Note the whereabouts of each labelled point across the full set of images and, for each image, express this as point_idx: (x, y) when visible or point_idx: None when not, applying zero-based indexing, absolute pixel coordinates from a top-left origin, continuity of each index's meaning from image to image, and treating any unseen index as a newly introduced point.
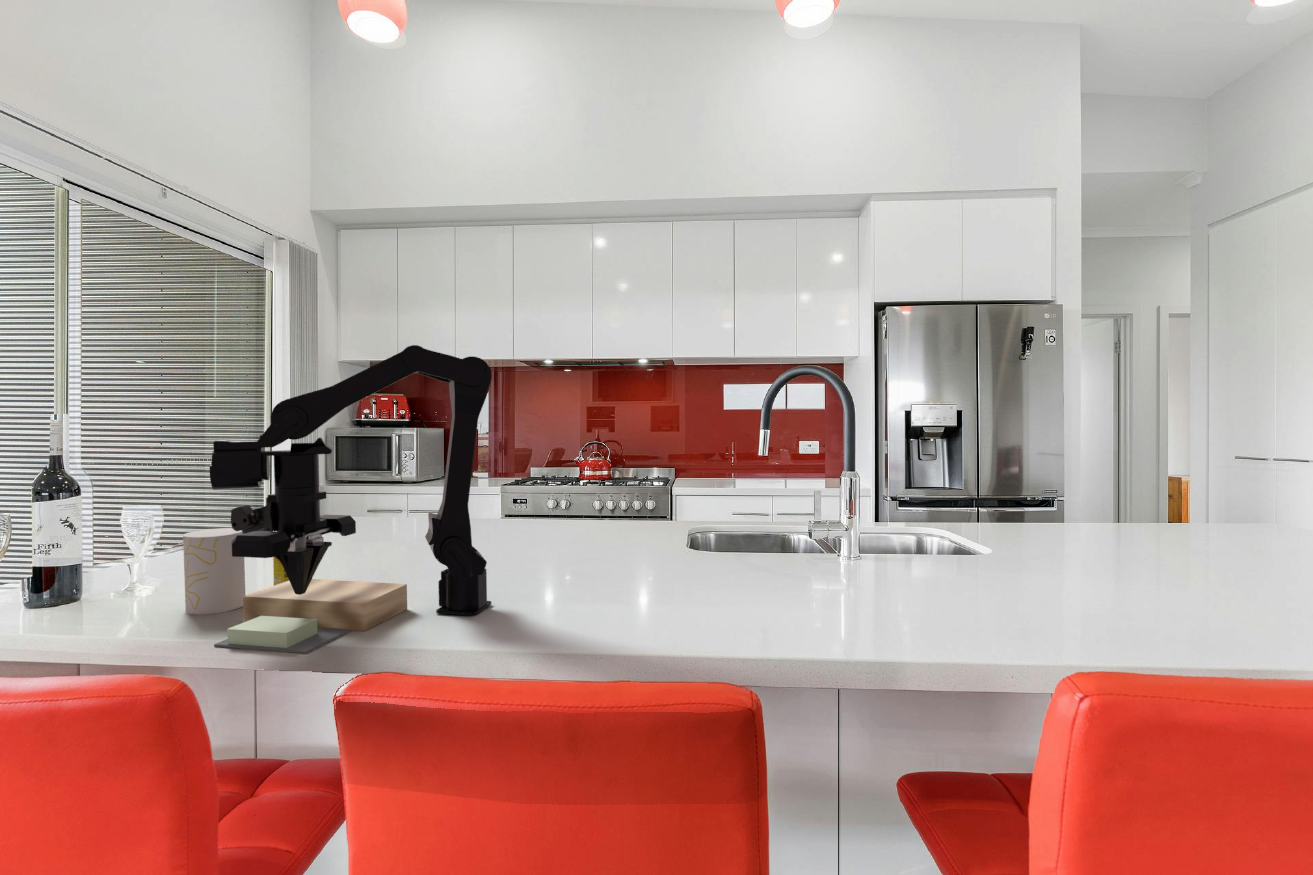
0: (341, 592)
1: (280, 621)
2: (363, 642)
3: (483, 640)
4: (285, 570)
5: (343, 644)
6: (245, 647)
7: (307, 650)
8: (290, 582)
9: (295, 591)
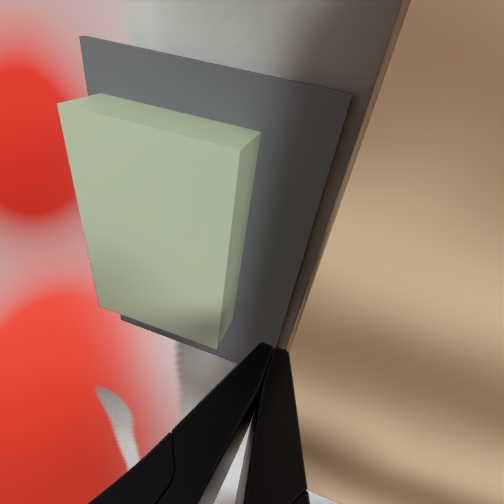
0: (410, 437)
1: (179, 260)
2: (202, 390)
3: (232, 496)
4: (149, 452)
5: (186, 363)
6: None
7: (125, 320)
8: (218, 384)
9: (252, 353)
